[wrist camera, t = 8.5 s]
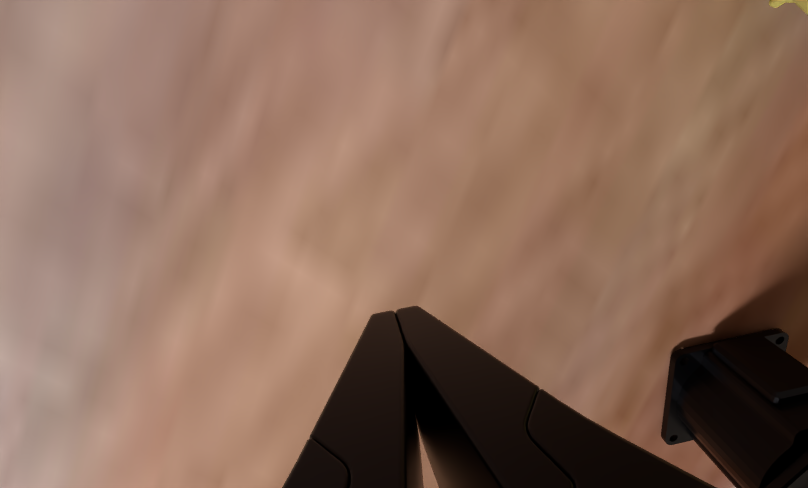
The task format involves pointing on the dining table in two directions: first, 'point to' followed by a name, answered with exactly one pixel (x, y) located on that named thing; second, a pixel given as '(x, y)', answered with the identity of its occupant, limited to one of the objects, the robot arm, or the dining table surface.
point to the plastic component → (803, 0)
